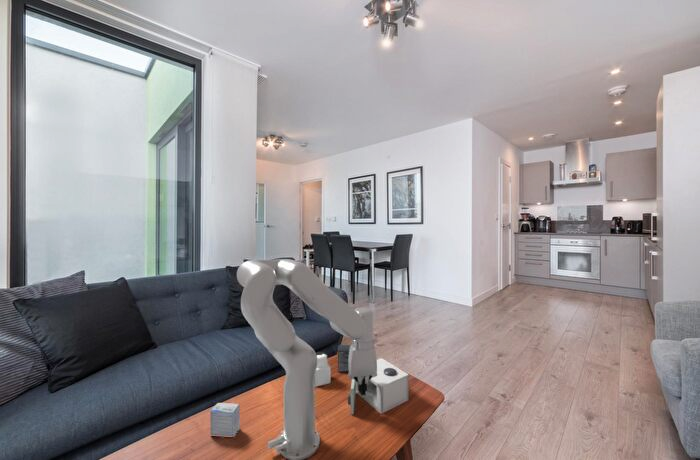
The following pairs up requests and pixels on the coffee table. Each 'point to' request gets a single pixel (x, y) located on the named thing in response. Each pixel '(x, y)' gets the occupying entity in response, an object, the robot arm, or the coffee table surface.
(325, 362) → the white square bottle
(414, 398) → the coffee table surface
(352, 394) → the side door
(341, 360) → the small box
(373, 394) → the white cabinet
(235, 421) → the medicine box
